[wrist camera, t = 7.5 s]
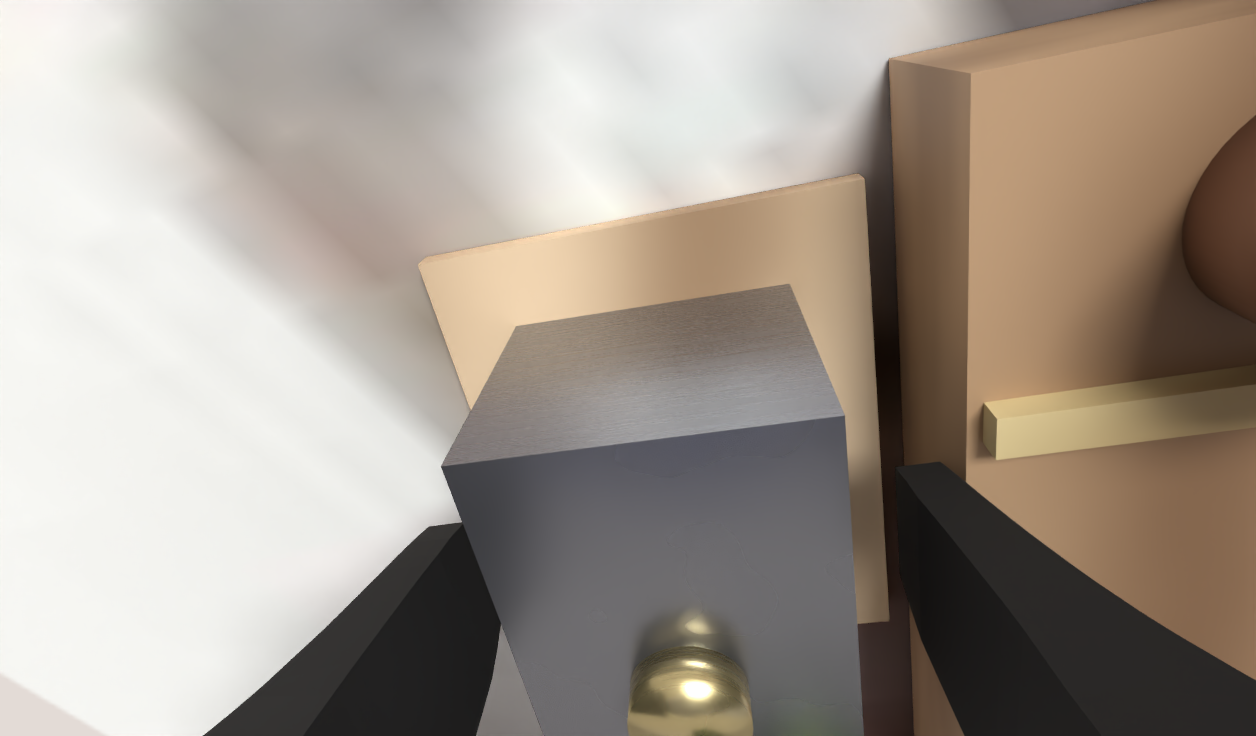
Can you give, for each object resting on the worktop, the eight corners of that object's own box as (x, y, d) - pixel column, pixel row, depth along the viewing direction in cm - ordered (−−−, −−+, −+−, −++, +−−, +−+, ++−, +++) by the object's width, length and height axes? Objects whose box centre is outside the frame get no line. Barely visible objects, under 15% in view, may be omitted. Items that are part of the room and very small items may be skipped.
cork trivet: (858, 173, 10) (864, 178, 10) (884, 605, 14) (889, 620, 14) (426, 256, 11) (417, 265, 11) (561, 637, 15) (558, 652, 15)
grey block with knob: (789, 283, 11) (858, 447, 7) (815, 569, 13) (876, 813, 9) (516, 326, 11) (423, 499, 7) (592, 590, 14) (557, 827, 10)
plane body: (1472, -68, 8) (2540, -189, 4) (1236, 747, 15) (1490, 1078, 11) (888, 58, 9) (1104, 97, 5) (915, 767, 16) (1012, 1076, 12)
